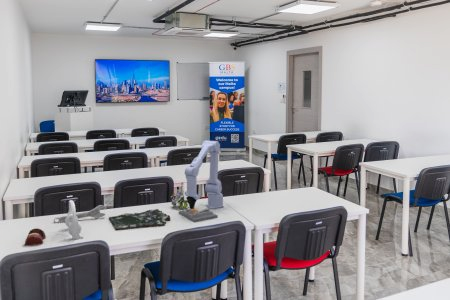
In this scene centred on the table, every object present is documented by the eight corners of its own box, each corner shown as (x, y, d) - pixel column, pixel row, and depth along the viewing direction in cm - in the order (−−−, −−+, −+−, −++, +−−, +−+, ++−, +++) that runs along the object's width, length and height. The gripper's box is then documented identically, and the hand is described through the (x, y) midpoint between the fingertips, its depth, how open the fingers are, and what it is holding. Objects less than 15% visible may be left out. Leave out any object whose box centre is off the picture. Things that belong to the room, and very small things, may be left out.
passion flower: (173, 216, 268) (167, 198, 273) (191, 211, 273) (184, 193, 277) (176, 210, 257) (169, 191, 262) (194, 205, 262) (187, 186, 266)
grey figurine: (65, 229, 227) (63, 197, 224) (78, 227, 230) (77, 196, 227) (68, 241, 209) (66, 207, 206) (83, 238, 212) (81, 205, 209)
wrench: (55, 227, 238) (107, 216, 247) (55, 228, 237) (107, 217, 246) (52, 214, 237) (105, 203, 246) (52, 215, 235) (105, 204, 244)
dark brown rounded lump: (23, 234, 201) (28, 226, 212) (23, 247, 201) (28, 238, 213) (42, 233, 203) (46, 226, 214) (42, 246, 203) (46, 237, 215)
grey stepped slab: (201, 209, 264) (200, 204, 263) (217, 217, 247) (217, 212, 247) (178, 213, 255) (178, 208, 255) (194, 222, 239) (194, 216, 238)
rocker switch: (201, 206, 256) (201, 204, 256) (207, 209, 250) (206, 207, 250) (188, 213, 251) (187, 210, 251) (193, 216, 246) (192, 213, 245)
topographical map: (108, 219, 245) (108, 214, 244) (162, 212, 259) (162, 208, 258) (117, 233, 222) (117, 228, 221) (175, 225, 235) (175, 220, 235)
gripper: (180, 185, 250) (180, 206, 252) (191, 190, 238) (191, 212, 240) (190, 183, 254) (190, 205, 256) (202, 188, 242) (202, 210, 244)
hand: (191, 208), depth 248 cm, fingers closed
